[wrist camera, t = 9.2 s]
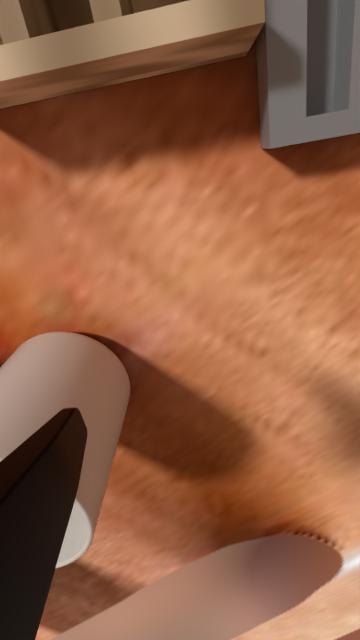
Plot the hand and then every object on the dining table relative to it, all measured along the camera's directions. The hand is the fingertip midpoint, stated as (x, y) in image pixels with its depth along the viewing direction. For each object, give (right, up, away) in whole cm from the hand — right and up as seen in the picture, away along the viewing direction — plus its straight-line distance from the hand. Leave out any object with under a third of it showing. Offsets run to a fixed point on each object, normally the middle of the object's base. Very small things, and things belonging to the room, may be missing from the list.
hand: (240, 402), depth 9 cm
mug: (-11, -2, +16) cm, 20 cm away
